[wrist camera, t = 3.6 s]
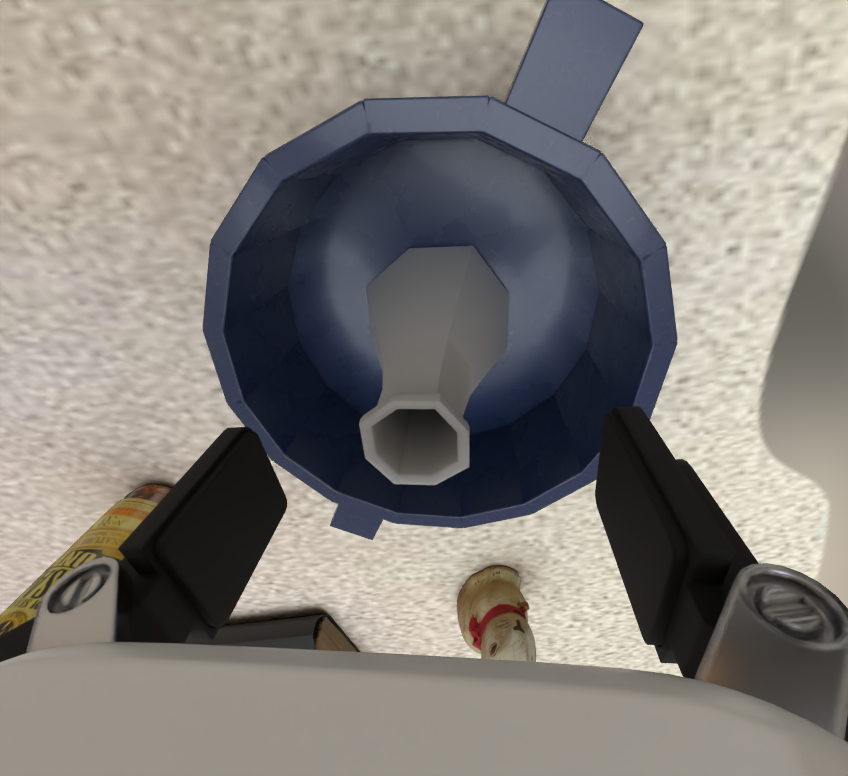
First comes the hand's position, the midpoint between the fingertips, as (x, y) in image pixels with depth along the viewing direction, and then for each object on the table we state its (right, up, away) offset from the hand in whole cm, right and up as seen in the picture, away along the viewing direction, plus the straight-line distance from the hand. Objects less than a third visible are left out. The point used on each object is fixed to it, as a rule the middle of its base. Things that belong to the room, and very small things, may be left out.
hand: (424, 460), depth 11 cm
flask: (+1, +6, +9) cm, 11 cm away
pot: (+1, +6, +9) cm, 11 cm away
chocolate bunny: (+5, -14, +21) cm, 26 cm away
